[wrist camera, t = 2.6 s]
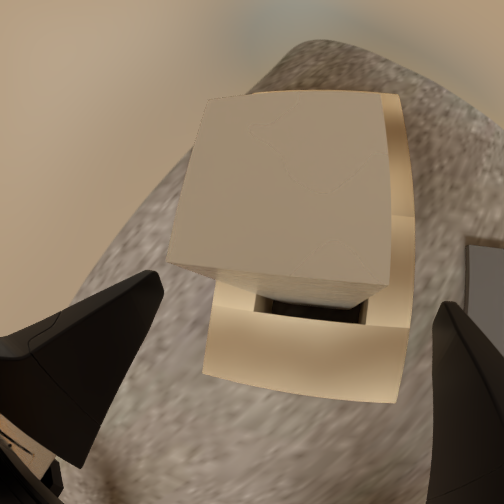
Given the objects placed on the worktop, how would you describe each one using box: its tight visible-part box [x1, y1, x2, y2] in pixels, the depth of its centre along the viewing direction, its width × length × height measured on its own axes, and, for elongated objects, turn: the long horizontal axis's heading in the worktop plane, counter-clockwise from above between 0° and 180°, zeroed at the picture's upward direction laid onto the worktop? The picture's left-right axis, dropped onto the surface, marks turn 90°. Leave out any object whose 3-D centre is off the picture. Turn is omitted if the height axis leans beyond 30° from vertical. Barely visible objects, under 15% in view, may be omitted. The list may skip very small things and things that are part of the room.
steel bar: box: [166, 91, 391, 310], centre depth 11 cm, size 4×4×13 cm
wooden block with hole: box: [202, 90, 415, 403], centre depth 16 cm, size 18×10×4 cm, turn 173°
